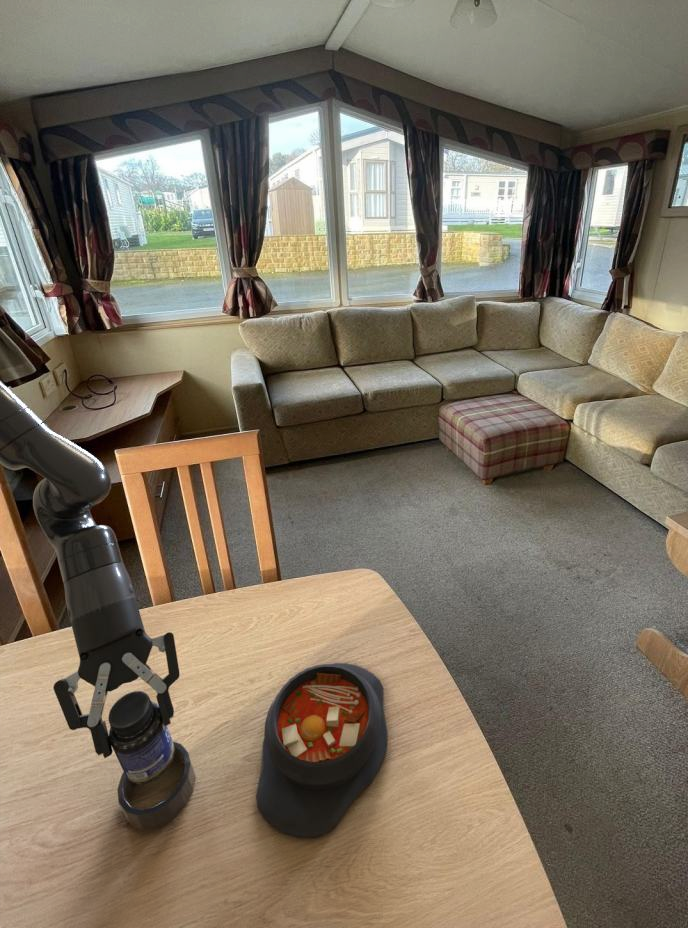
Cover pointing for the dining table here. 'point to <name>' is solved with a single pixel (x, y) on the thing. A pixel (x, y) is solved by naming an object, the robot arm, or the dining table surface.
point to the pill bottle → (140, 737)
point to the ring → (165, 809)
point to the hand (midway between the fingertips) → (138, 738)
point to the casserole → (321, 747)
